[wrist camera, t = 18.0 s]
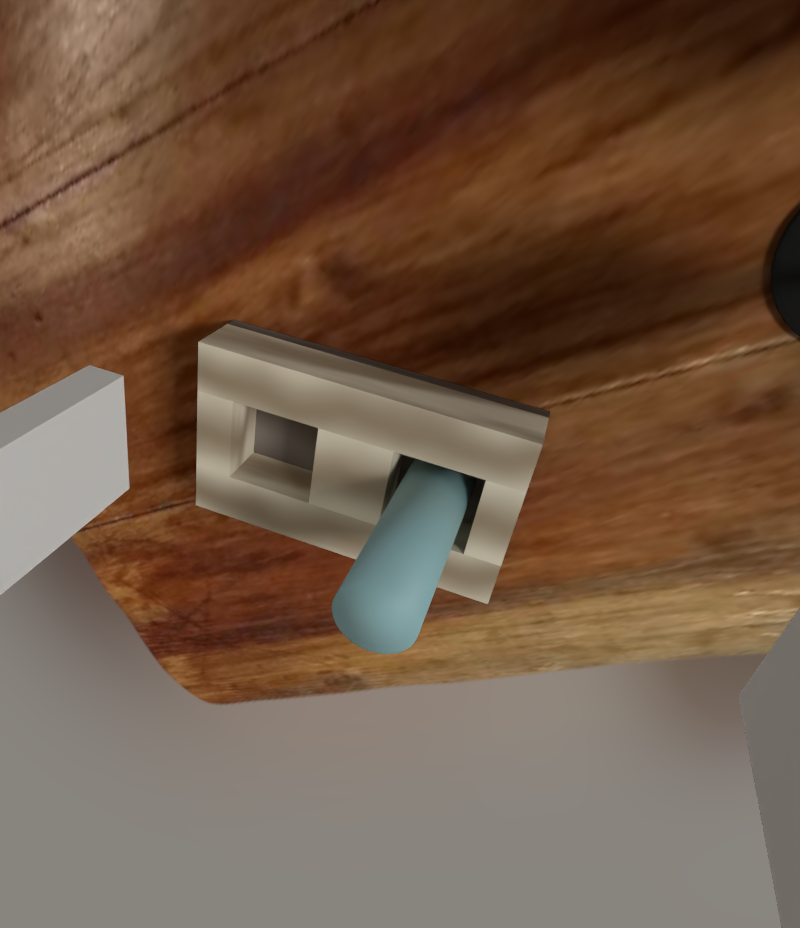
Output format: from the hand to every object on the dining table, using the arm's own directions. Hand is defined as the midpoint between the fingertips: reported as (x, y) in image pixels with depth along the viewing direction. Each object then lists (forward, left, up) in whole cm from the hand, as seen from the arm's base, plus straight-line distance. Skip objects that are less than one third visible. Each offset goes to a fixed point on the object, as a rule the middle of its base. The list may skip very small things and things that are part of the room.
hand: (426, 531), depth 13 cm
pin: (+19, -3, -32) cm, 37 cm away
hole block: (+19, -9, -33) cm, 39 cm away
